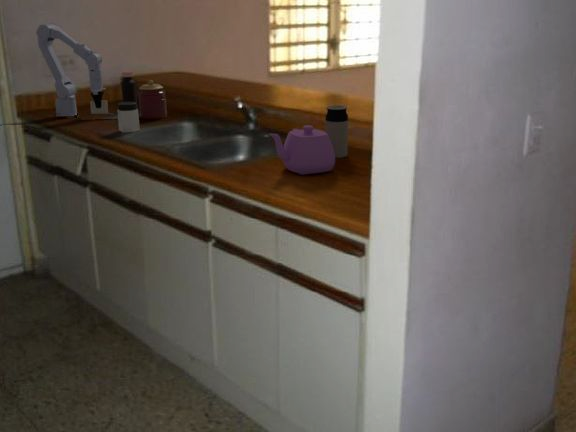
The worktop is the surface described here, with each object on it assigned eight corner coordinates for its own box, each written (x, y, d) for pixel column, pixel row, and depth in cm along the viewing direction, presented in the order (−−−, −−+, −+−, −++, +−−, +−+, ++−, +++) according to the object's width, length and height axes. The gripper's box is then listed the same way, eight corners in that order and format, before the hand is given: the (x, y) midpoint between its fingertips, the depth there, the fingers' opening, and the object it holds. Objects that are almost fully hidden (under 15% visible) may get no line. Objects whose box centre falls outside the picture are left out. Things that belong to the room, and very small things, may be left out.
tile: (108, 113, 328) (107, 100, 326) (91, 113, 327) (90, 101, 325) (108, 112, 330) (107, 100, 328) (91, 113, 329) (90, 100, 327)
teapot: (314, 159, 243) (314, 117, 238) (342, 173, 225) (342, 128, 220) (255, 166, 235) (253, 123, 230) (278, 181, 216) (278, 135, 211)
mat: (80, 120, 320) (80, 119, 320) (84, 115, 334) (84, 114, 333) (119, 119, 323) (119, 118, 323) (122, 113, 336) (121, 113, 336)
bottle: (121, 113, 337) (117, 72, 331) (128, 111, 343) (124, 71, 337) (133, 114, 335) (129, 73, 329) (140, 111, 341) (136, 71, 335)
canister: (152, 120, 318) (149, 82, 312) (134, 117, 326) (130, 80, 320) (172, 116, 328) (170, 79, 322) (154, 113, 335) (151, 77, 330)
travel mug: (349, 157, 244) (350, 108, 238) (327, 158, 243) (328, 108, 237) (344, 152, 252) (345, 104, 246) (323, 153, 251) (323, 105, 245)
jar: (117, 130, 298) (114, 102, 294) (135, 127, 302) (132, 101, 298) (123, 133, 291) (121, 105, 287) (141, 131, 295) (139, 103, 291)
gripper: (102, 80, 317) (105, 109, 321) (106, 76, 330) (109, 104, 335) (87, 81, 316) (90, 110, 320) (91, 77, 330) (94, 105, 334)
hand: (98, 107), depth 328 cm, fingers closed on tile, 2 cm apart
